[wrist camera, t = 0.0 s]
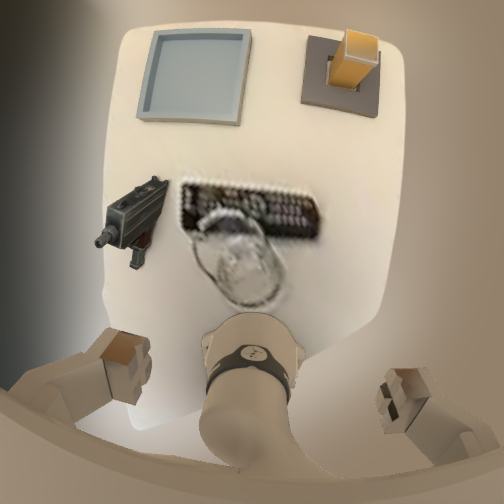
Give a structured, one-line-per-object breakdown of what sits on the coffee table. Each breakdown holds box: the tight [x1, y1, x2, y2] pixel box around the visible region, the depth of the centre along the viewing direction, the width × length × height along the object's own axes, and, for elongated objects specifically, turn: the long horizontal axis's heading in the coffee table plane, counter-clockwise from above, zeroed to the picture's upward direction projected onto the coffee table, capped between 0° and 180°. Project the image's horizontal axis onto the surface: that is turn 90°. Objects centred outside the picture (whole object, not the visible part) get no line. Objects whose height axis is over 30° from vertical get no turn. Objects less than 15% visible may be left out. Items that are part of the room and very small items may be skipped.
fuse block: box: [301, 35, 381, 118], centre depth 40 cm, size 12×12×2 cm
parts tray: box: [136, 28, 252, 126], centre depth 40 cm, size 16×16×4 cm
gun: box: [95, 176, 168, 270], centre depth 41 cm, size 3×17×15 cm
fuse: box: [328, 29, 379, 90], centre depth 34 cm, size 4×4×13 cm
